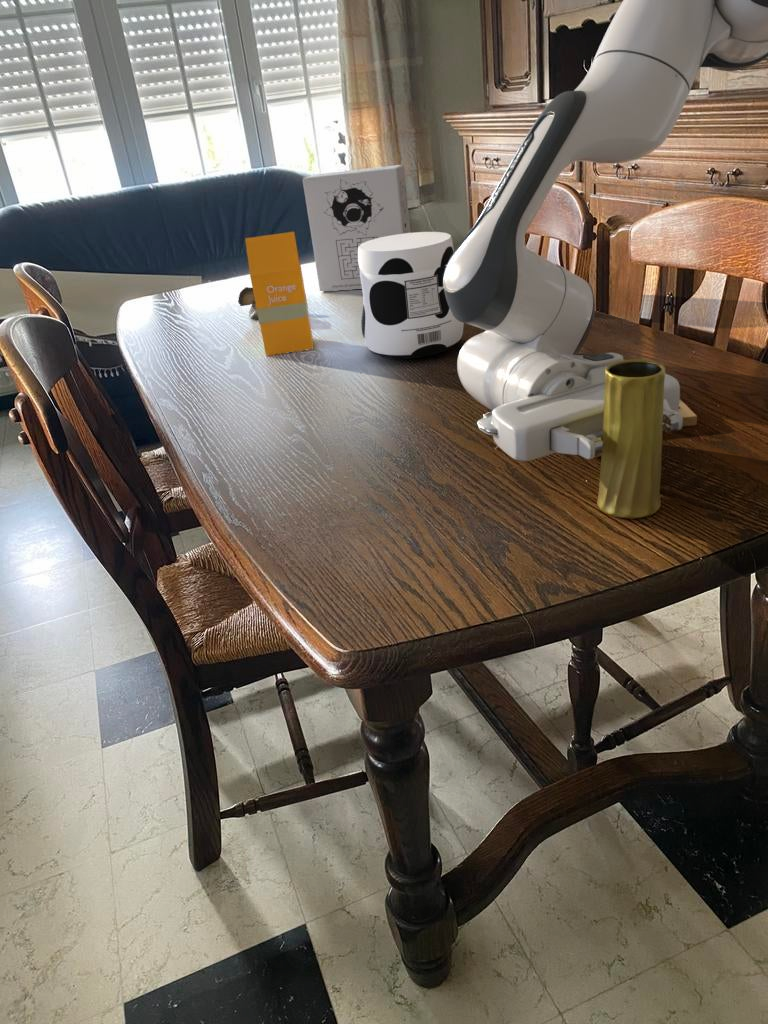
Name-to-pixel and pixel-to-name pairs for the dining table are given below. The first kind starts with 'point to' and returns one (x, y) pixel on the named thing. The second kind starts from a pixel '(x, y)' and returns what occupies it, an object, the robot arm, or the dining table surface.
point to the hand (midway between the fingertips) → (637, 437)
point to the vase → (632, 439)
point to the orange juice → (279, 293)
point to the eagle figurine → (248, 301)
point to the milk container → (407, 295)
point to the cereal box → (352, 218)
